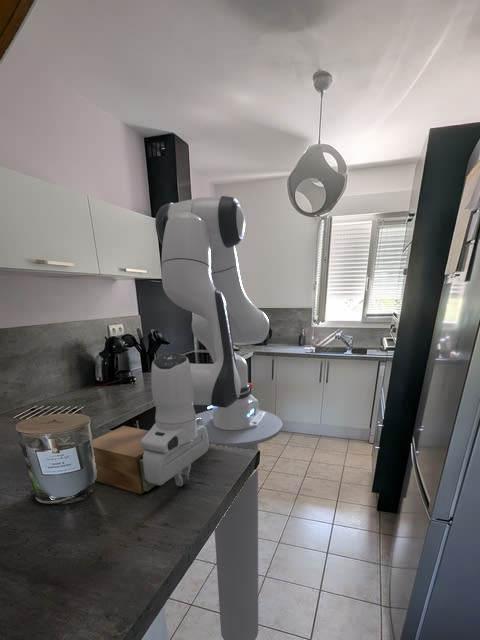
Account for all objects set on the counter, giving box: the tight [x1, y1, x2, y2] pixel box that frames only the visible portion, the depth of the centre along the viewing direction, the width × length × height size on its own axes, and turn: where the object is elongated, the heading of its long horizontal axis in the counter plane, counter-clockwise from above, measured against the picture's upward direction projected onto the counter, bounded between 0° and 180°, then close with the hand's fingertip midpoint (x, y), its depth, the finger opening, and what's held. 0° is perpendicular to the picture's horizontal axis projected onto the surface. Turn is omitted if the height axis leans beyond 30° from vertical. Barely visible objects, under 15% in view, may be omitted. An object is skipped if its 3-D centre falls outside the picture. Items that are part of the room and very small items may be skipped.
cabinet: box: [91, 425, 150, 495], centre depth 89 cm, size 17×14×10 cm
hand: (182, 483), depth 85 cm, fingers closed, pressing on drawer
